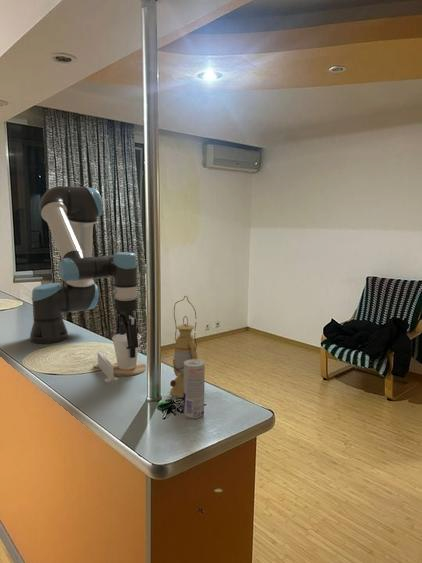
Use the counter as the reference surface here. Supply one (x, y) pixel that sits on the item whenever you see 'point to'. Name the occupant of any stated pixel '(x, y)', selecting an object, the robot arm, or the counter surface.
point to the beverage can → (194, 388)
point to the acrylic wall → (106, 368)
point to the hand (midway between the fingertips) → (127, 361)
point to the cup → (123, 350)
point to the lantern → (182, 355)
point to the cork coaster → (135, 371)
